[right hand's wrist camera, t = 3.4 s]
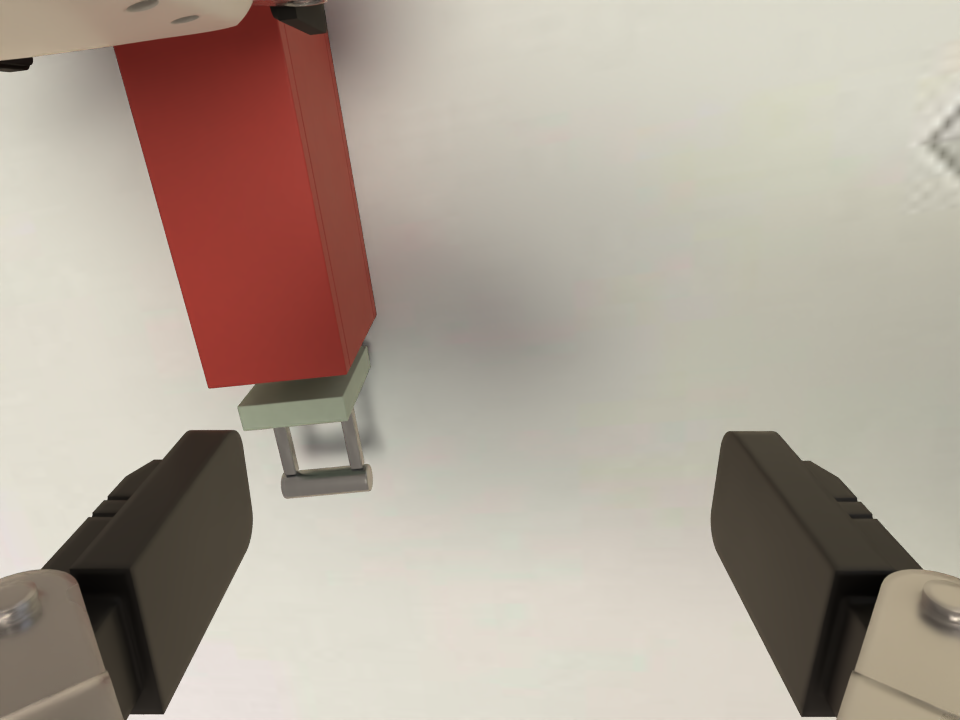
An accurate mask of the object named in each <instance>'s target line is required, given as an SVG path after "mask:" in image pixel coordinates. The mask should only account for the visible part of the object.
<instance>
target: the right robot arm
mask: <svg viewBox="0 0 960 720" xmlns="http://www.w3.org/2000/svg"><path fill="white" fill-rule="evenodd" d="M252 525H253V513H252V505H251V498H250V491H249V484H248V477H247V470H246V464H245V457H244V450H243V444H242V440H241V437H240V435H239V433H238V432H237V431H235V430H189V431H187V432H186V433H185V434H184V435H183V436H182V438H181V439H180V440H179V441H178V442H177V443H176V444H175V446H174V447H173V448H172V449H171V450H170V451H169V453H168V454H167V455H166V456H165V457H164V458H163V460H153V461H151V462H149V463H148V464H146V465H144V466H143V467H141V468H139V469H138V470H136V471H134V472H133V473H131V474H129V475H128V476H126V477H125V478H124V479H123V480H122V481H121V482H120V483H119V485H118V486H117V487H116V488H115V489H114V490H113V491H112V492H111V493H110V494H109V495H108V500H104V501H103V502H102V503H101V504H100V505H99V506H98V507H97V509H96V510H95V511H94V512H93V516H92V517H88V518H87V519H86V521H85V522H84V523H83V524H82V525H81V526H80V527H79V528H78V529H77V530H76V531H75V533H74V534H73V535H72V536H71V537H70V538H69V539H68V540H67V541H66V542H65V543H64V545H63V546H62V547H61V548H60V549H59V550H58V551H57V552H56V553H55V554H54V555H53V557H52V558H51V559H50V560H49V561H48V562H47V563H46V564H45V565H44V566H43V568H42V569H39V570H31V571H25V572H21V573H16V574H13V575H10V576H6V577H4V578H1V579H0V720H127V718H128V716H129V714H164V713H165V711H166V709H167V707H168V705H169V703H170V701H171V699H172V697H173V695H174V693H175V691H176V689H177V687H178V685H179V683H180V681H181V679H182V677H183V675H184V673H185V671H186V669H187V667H188V665H189V663H190V661H191V659H192V658H193V656H194V654H195V652H196V650H197V648H198V646H199V644H200V642H201V640H202V638H203V636H204V634H205V632H206V630H207V628H208V626H209V624H210V622H211V620H212V618H213V616H214V614H215V612H216V610H217V608H218V606H219V604H220V602H221V600H222V598H223V596H224V594H225V592H226V590H227V588H228V586H229V584H230V582H231V580H232V579H233V577H234V575H235V573H236V571H237V569H238V567H239V565H240V563H241V561H242V559H243V557H244V555H245V553H246V551H247V549H248V546H249V543H250V539H251V534H252ZM711 532H712V538H713V542H714V546H715V549H716V551H717V553H718V555H719V557H720V559H721V561H722V563H723V565H724V567H725V569H726V571H727V573H728V575H729V576H730V578H731V580H732V582H733V584H734V586H735V588H736V590H737V592H738V594H739V596H740V598H741V600H742V602H743V604H744V606H745V608H746V610H747V612H748V614H749V616H750V617H751V619H752V621H753V623H754V625H755V627H756V629H757V631H758V633H759V635H760V637H761V639H762V641H763V643H764V645H765V647H766V649H767V651H768V653H769V655H770V656H771V658H772V660H773V662H774V664H775V666H776V668H777V670H778V672H779V674H780V676H781V678H782V680H783V682H784V684H785V686H786V688H787V690H788V692H789V694H790V695H791V697H792V699H793V701H794V703H795V705H796V707H797V709H798V711H799V713H800V715H801V717H836V718H837V719H836V720H960V579H959V578H956V577H954V576H950V575H947V574H944V573H939V572H935V571H929V570H923V569H922V568H921V566H920V565H919V564H918V563H917V562H916V561H915V560H914V559H913V558H912V557H911V556H910V555H909V553H908V552H907V551H906V550H905V549H904V548H903V547H902V546H901V545H900V544H899V543H898V542H897V540H896V539H895V538H894V537H893V536H892V535H891V534H890V533H889V532H888V531H887V530H886V529H885V528H884V526H883V525H882V524H881V523H880V522H879V521H878V520H877V519H873V517H872V513H871V512H870V511H869V510H868V509H867V508H866V507H865V506H864V505H863V504H862V503H861V502H857V497H856V496H855V495H854V494H853V493H852V492H851V491H850V490H849V489H848V487H847V486H846V485H845V484H844V483H843V482H842V481H841V480H840V479H839V478H838V477H836V476H835V475H833V474H831V473H830V472H828V471H826V470H825V469H823V468H821V467H820V466H818V465H816V464H814V463H813V462H811V461H802V460H801V459H800V458H799V457H798V456H797V455H796V454H795V452H794V451H793V450H792V449H791V448H790V447H789V445H788V444H787V443H786V442H785V441H784V440H783V439H782V437H781V436H780V435H779V434H778V433H777V432H774V431H729V432H727V433H726V434H725V435H724V437H723V440H722V443H721V448H720V455H719V462H718V469H717V475H716V482H715V489H714V496H713V503H712V509H711Z"/></svg>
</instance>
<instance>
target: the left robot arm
mask: <svg viewBox="0 0 960 720" xmlns="http://www.w3.org/2000/svg"><path fill="white" fill-rule="evenodd" d="M327 1H328V0H0V71H3V72H15V71H23V70H28V69H29V67H30V65H32V63H33V57H36V56H44V55H51V54H59V53H66V52H74V51H81V50H89V49H96V48H103V47H110V46H116V45H122V44H129V43H135V42H142V41H149V40H155V39H162V38H169V37H177V36H184V35H190V34H197V33H204V32H210V31H215V30H220V29H225V28H229V27H233V26H236V25H238V23H239V22H240V21H241V20H242V19H243V18H244V17H245V15H246V14H247V12H248V11H249V9H250V7H251V5H256V6H270V10H271V13H272V15H273V17H274V18H275V19H277V20H279V21H281V22H283V23H285V24H287V25H289V26H291V27H294V28H296V29H298V30H300V31H302V32H304V33H307V34H309V35H316V34H324V33H327V24H326V17H325V11H324V5H323V3H325V2H327Z"/></svg>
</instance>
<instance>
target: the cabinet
mask: <svg viewBox="0 0 960 720" xmlns="http://www.w3.org/2000/svg"><path fill="white" fill-rule="evenodd" d="M113 47H114V50H115V54H116V58H117V61H118V65H119V68H120V72H121V76H122V79H123V83H124V86H125V90H126V94H127V97H128V101H129V104H130V108H131V112H132V115H133V119H134V122H135V126H136V130H137V133H138V137H139V140H140V144H141V148H142V151H143V155H144V158H145V162H146V165H147V169H148V173H149V176H150V180H151V183H152V187H153V191H154V194H155V198H156V201H157V205H158V209H159V212H160V216H161V219H162V223H163V227H164V230H165V234H166V237H167V241H168V245H169V248H170V252H171V255H172V259H173V263H174V266H175V270H176V273H177V277H178V281H179V284H180V288H181V291H182V295H183V298H184V302H185V306H186V309H187V313H188V316H189V320H190V324H191V327H192V331H193V334H194V338H195V342H196V345H197V349H198V352H199V356H200V360H201V363H202V367H203V370H204V374H205V378H206V381H207V385H208V388H219V387H229V386H239V385H249V384H259V383H269V382H279V381H289V380H299V379H309V378H319V377H329V376H339V375H346V374H347V373H348V371H349V369H350V367H351V365H352V363H353V361H354V359H355V357H356V355H357V353H358V351H359V349H360V347H361V345H362V343H363V341H364V339H365V337H366V335H367V333H368V331H369V329H370V327H371V325H372V323H373V321H374V319H375V317H376V315H377V314H376V309H375V303H374V297H373V291H372V286H371V280H370V274H369V268H368V263H367V257H366V251H365V245H364V239H363V234H362V228H361V222H360V216H359V211H358V205H357V199H356V193H355V188H354V182H353V176H352V170H351V164H350V159H349V153H348V147H347V141H346V136H345V130H344V124H343V118H342V113H341V107H340V101H339V95H338V89H337V84H336V78H335V72H334V66H333V61H332V55H331V49H330V43H329V38H328V32H327V33H324V34H316V35H309V34H307V33H304V32H302V31H300V30H298V29H296V28H294V27H291V26H289V25H287V24H285V23H283V22H281V21H279V20H277V19H275V18H274V17H273V15H272V13H271V10H270V6H256V5H251V7H250V9H249V11H248V12H247V14H246V15H245V17H244V18H243V19H242V20H241V21H240V22H239V23H238V25H236V26H233V27H229V28H225V29H220V30H215V31H210V32H204V33H197V34H190V35H184V36H177V37H169V38H162V39H155V40H149V41H142V42H135V43H129V44H122V45H116V46H113Z"/></svg>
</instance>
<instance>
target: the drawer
mask: <svg viewBox="0 0 960 720" xmlns="http://www.w3.org/2000/svg"><path fill="white" fill-rule="evenodd" d="M370 367H371V366H370V360H369V355H368V349H367V346H361V347H360V349H359V351H358V353H357V355H356V357H355V359H354V361H353V363H352V365H351V367H350V369H349V371H348V373H347V374H346V375H339V376H329V377H319V378H309V379H299V380H289V381H279V382H269V383H259V384H255V386H254V387H253V388H252V389H251V391H250V392H249V393H248V394H247V396H246V397H245V398H244V399H243V401H242V402H241V403H240V404H239V406H238V411H239V415H240V419H241V423H242V426H243V430H244V431H249V430H260V429H270V428H273V429H274V433H275V437H276V441H277V445H278V449H279V453H280V457H281V461H282V466H283V470H284V473H283V475H282V479H281V490H282V494H283V496H284V498H286V499H290V498H301V497H312V496H323V495H333V494H344V493H355V492H366V491H371V489H372V485H373V475H372V469H371V466H370V465H369V464H364V458H363V453H362V448H361V443H360V438H359V432H358V427H357V422H356V417H355V412H354V405H355V402H356V400H357V398H358V395H359V393H360V391H361V388H362V386H363V383H364V381H365V379H366V376H367V374H368V372H369V369H370ZM332 422H341V424H342V428H343V433H344V438H345V443H346V448H347V453H348V458H349V463H350V466H340V467H330V468H319V469H308V470H299V467H298V462H297V458H296V454H295V450H294V445H293V441H292V437H291V433H290V429H289V427H291V426H301V425H311V424H321V423H332Z"/></svg>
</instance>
